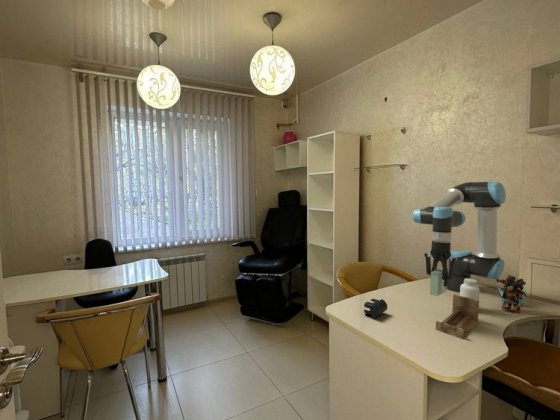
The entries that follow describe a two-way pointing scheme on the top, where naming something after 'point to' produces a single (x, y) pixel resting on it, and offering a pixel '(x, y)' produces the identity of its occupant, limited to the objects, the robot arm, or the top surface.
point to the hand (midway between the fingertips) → (438, 291)
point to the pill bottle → (470, 289)
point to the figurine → (512, 293)
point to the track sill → (460, 317)
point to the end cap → (375, 308)
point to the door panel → (436, 282)
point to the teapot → (519, 299)
